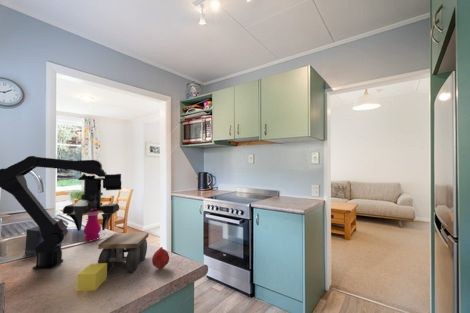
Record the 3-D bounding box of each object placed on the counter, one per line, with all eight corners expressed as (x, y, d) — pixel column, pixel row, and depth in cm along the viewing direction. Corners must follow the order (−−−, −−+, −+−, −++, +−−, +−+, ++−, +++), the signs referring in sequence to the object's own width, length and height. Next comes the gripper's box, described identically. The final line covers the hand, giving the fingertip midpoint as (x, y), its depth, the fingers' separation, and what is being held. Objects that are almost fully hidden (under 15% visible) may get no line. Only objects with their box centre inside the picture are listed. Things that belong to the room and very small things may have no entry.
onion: (148, 269, 77) (149, 246, 78) (163, 264, 82) (164, 242, 82) (156, 275, 73) (157, 251, 74) (172, 269, 78) (172, 246, 78)
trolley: (94, 277, 72) (95, 246, 72) (116, 256, 88) (117, 231, 88) (134, 275, 73) (135, 245, 73) (149, 255, 89) (149, 231, 89)
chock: (77, 291, 64) (77, 274, 64) (90, 279, 71) (91, 263, 71) (95, 290, 64) (95, 273, 65) (106, 278, 71) (107, 263, 71)
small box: (36, 256, 87) (37, 230, 87) (23, 255, 88) (25, 229, 89) (62, 246, 97) (63, 223, 98) (50, 245, 99) (51, 222, 99)
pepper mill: (88, 236, 111) (90, 197, 112) (103, 236, 112) (104, 197, 112) (79, 241, 104) (81, 199, 105) (95, 241, 105) (97, 199, 105)
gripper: (52, 193, 78) (51, 237, 78) (106, 193, 80) (105, 236, 79) (73, 190, 89) (71, 228, 89) (120, 190, 91) (119, 227, 90)
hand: (91, 230), depth 86 cm, fingers open, 9 cm apart
